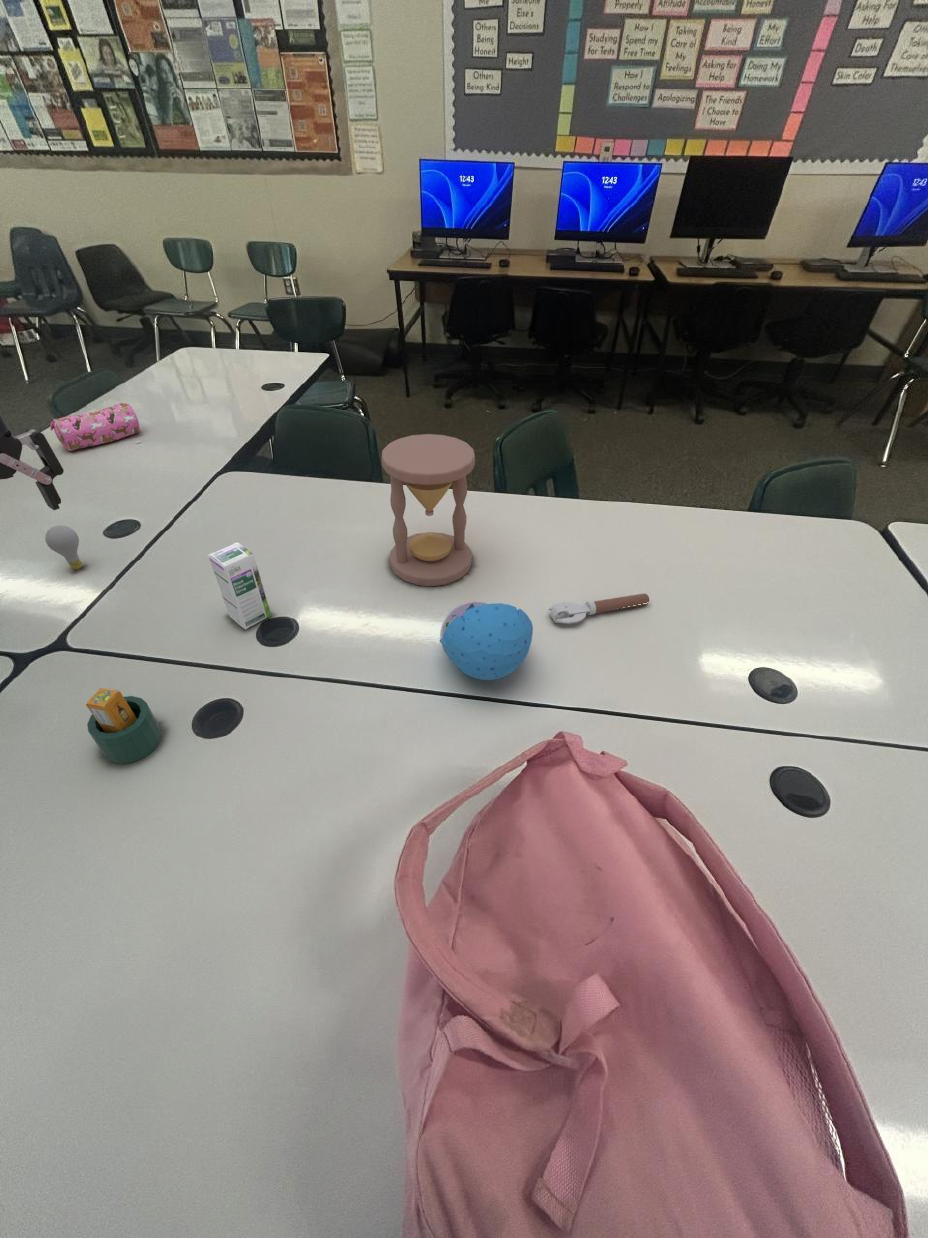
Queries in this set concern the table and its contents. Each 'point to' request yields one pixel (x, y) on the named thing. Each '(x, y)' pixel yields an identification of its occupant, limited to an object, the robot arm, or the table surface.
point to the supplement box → (111, 710)
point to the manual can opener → (593, 607)
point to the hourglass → (429, 506)
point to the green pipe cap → (128, 735)
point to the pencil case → (96, 427)
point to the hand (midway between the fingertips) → (20, 520)
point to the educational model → (486, 639)
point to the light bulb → (64, 544)
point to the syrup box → (240, 584)
